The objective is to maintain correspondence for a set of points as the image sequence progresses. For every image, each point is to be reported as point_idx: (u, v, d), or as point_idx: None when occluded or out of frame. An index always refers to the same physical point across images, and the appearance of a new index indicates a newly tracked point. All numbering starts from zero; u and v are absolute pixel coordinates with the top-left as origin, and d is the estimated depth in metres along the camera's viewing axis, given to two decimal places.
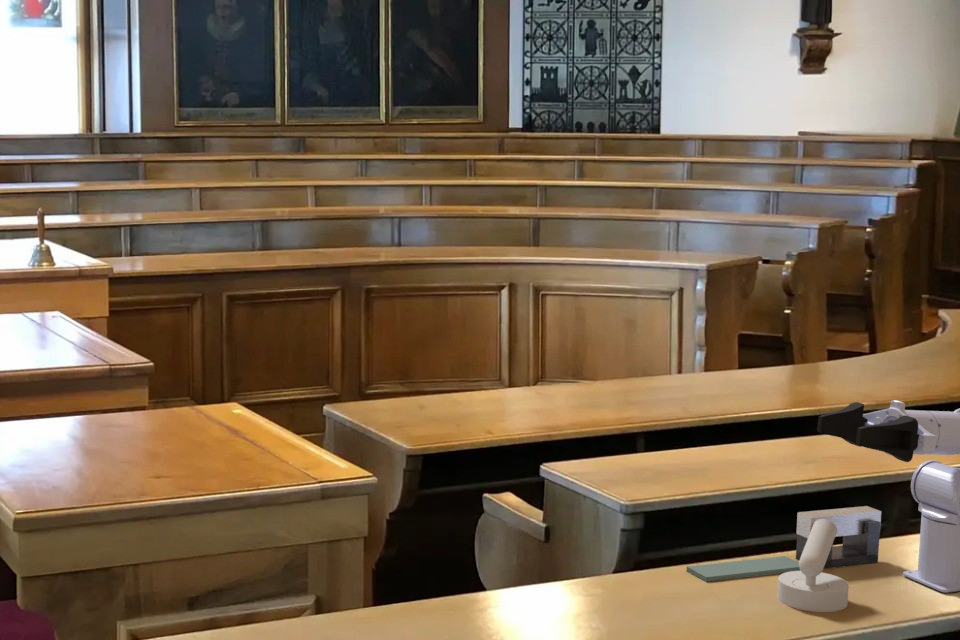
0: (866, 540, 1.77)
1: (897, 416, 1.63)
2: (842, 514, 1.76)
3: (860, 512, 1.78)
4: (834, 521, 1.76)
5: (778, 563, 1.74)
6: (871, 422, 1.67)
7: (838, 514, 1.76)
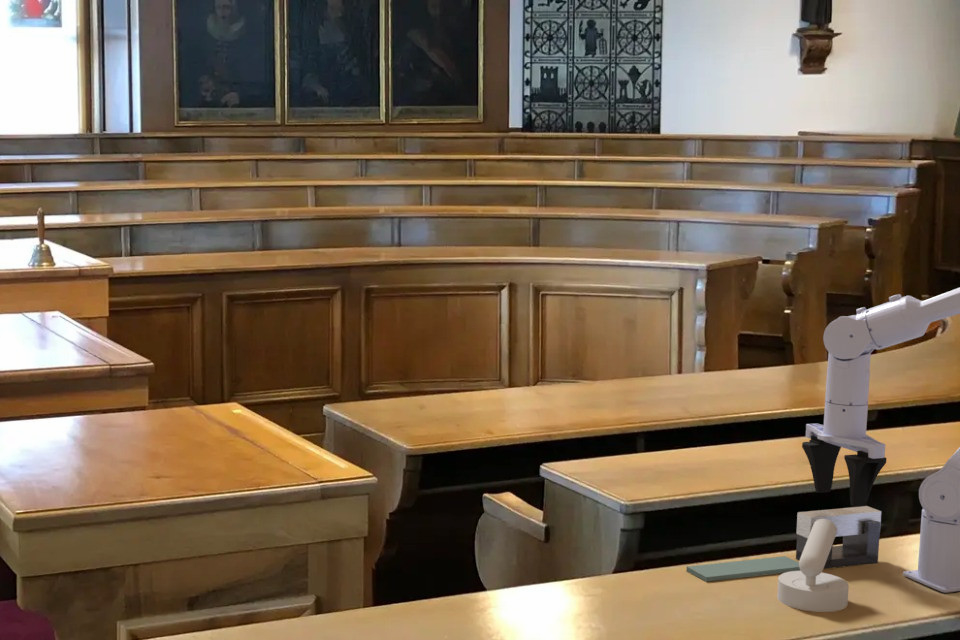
0: (866, 540, 1.77)
1: None
2: (842, 514, 1.76)
3: (860, 512, 1.78)
4: (834, 521, 1.76)
5: (778, 563, 1.74)
6: None
7: (838, 514, 1.76)
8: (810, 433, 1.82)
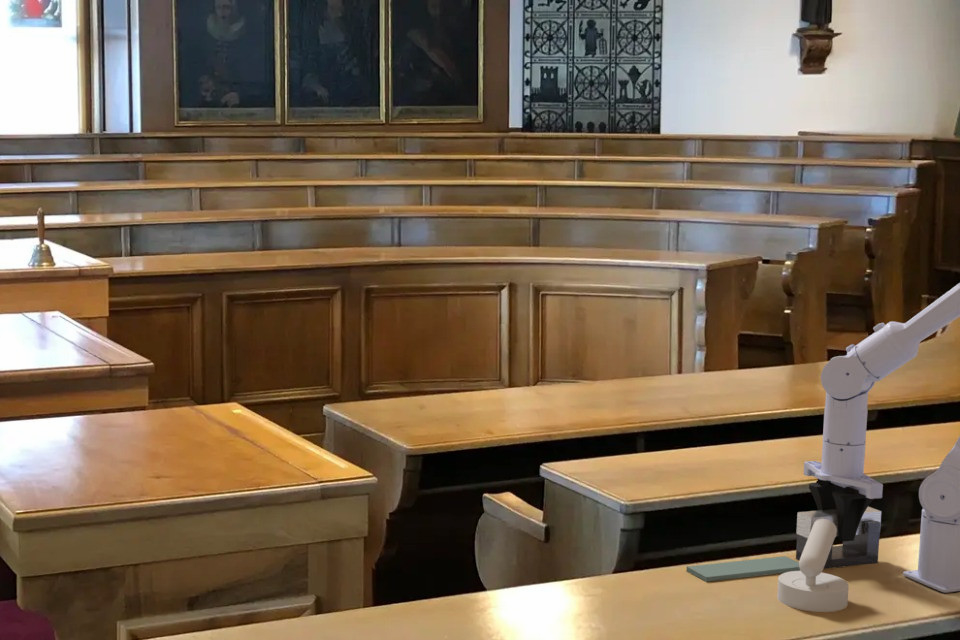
0: (866, 540, 1.77)
1: None
2: None
3: None
4: (834, 521, 1.76)
5: (778, 563, 1.74)
6: None
7: None
8: (808, 471, 1.83)
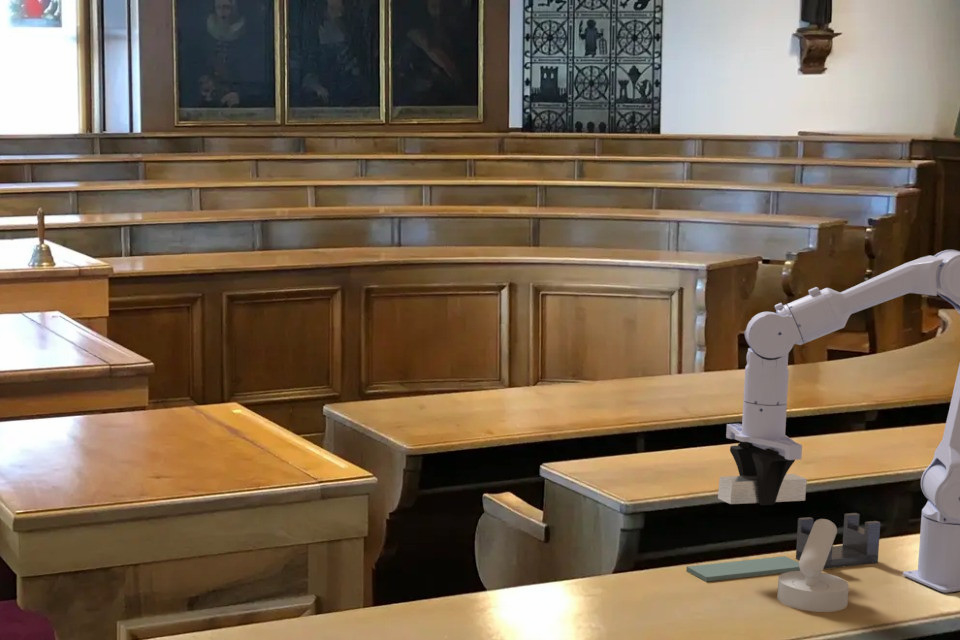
0: (866, 540, 1.77)
1: None
2: None
3: (784, 479, 1.72)
4: (757, 486, 1.70)
5: (778, 563, 1.74)
6: None
7: None
8: (730, 434, 1.77)
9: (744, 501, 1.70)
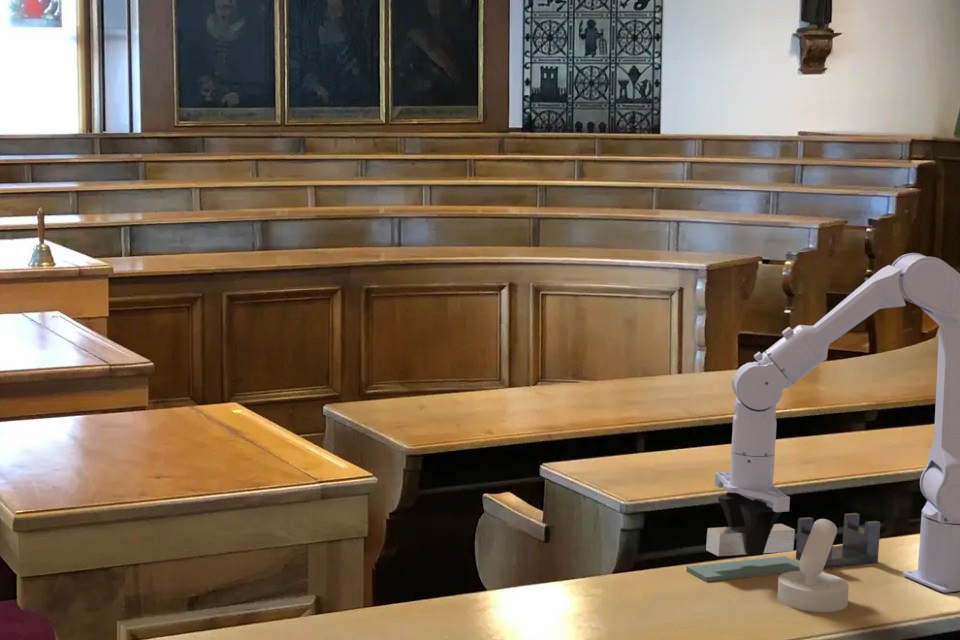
0: (866, 540, 1.77)
1: None
2: None
3: (772, 530, 1.72)
4: (744, 538, 1.70)
5: (778, 563, 1.74)
6: None
7: None
8: (719, 482, 1.77)
9: (732, 553, 1.70)
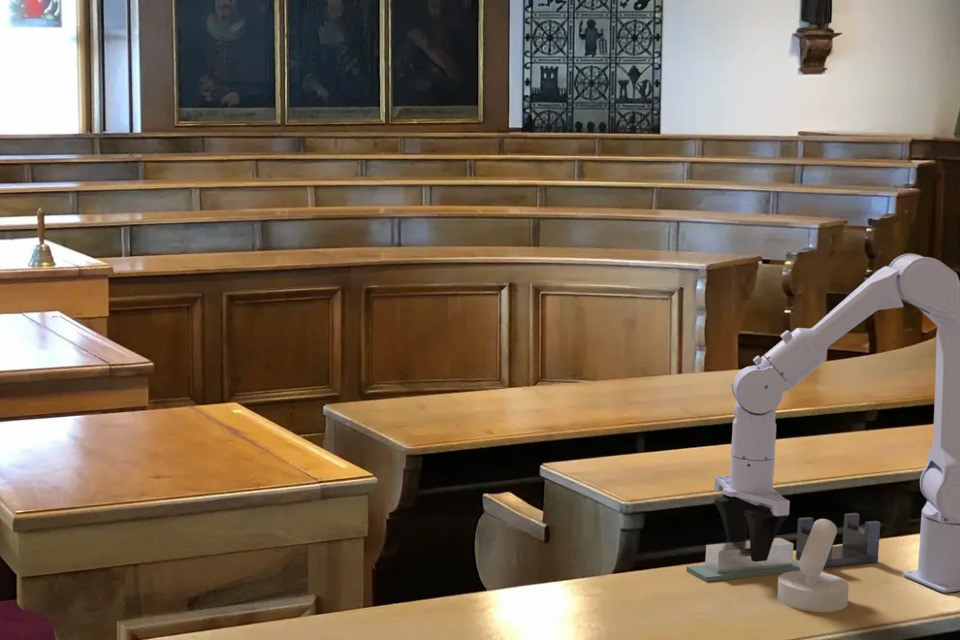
0: (866, 540, 1.77)
1: None
2: None
3: None
4: (743, 554, 1.70)
5: None
6: None
7: (748, 547, 1.71)
8: (719, 486, 1.77)
9: (731, 569, 1.70)
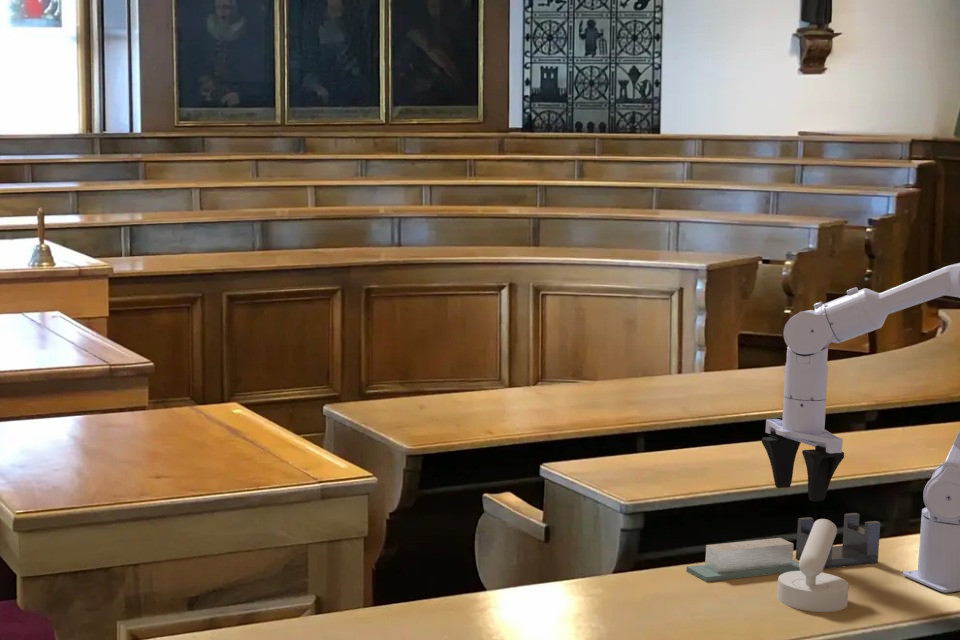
0: (866, 540, 1.77)
1: None
2: (752, 547, 1.71)
3: (771, 545, 1.73)
4: (743, 554, 1.70)
5: None
6: None
7: (748, 547, 1.71)
8: (770, 428, 1.82)
9: (731, 569, 1.70)
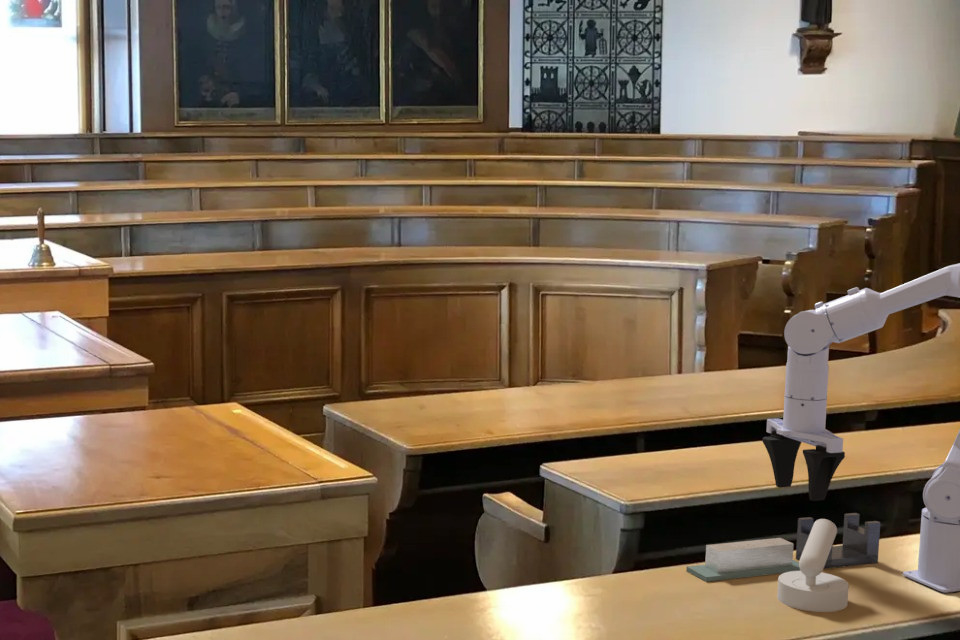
0: (866, 540, 1.77)
1: None
2: (752, 547, 1.71)
3: (771, 545, 1.73)
4: (743, 554, 1.70)
5: None
6: None
7: (748, 547, 1.71)
8: (771, 428, 1.82)
9: (731, 569, 1.70)
